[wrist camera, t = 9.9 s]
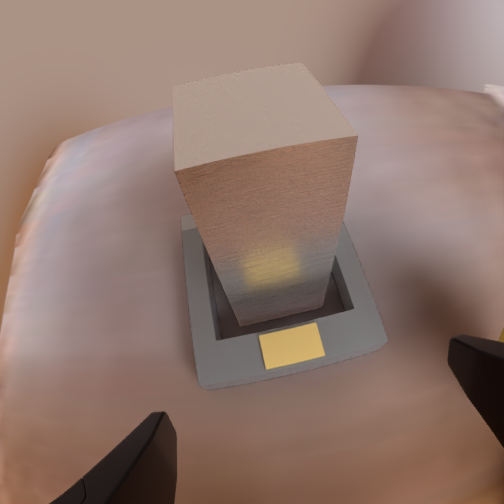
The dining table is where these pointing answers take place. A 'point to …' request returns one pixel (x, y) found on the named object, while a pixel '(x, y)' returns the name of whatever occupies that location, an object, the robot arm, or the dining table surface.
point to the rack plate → (284, 338)
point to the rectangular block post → (265, 184)
